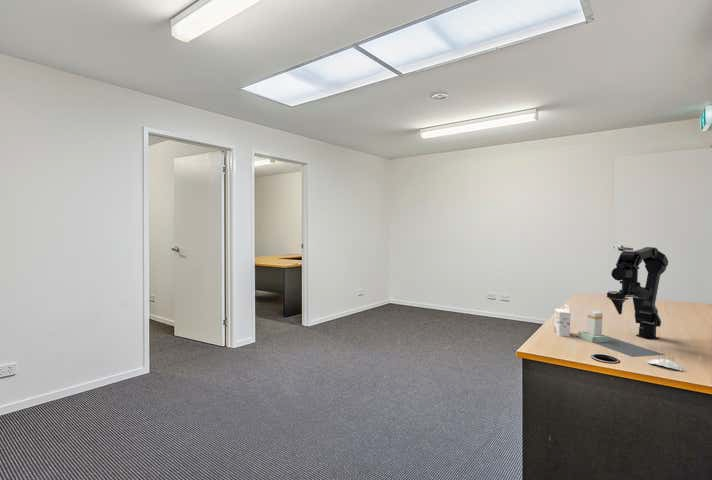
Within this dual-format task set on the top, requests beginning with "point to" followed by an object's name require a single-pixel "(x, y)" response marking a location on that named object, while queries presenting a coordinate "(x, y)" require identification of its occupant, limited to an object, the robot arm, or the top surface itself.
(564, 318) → the ink cartridge box
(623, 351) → the mat
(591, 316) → the white rectangular container
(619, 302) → the robot arm
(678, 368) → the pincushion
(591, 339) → the holder
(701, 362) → the top surface
